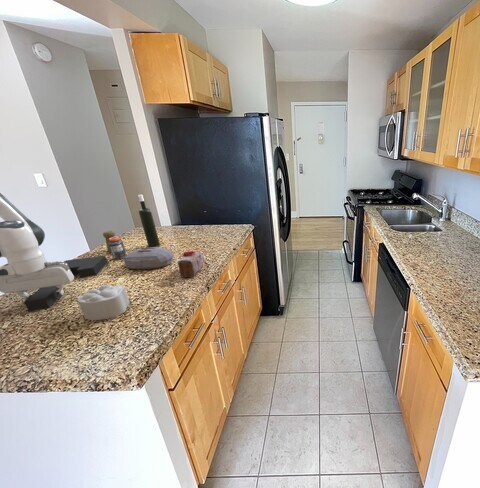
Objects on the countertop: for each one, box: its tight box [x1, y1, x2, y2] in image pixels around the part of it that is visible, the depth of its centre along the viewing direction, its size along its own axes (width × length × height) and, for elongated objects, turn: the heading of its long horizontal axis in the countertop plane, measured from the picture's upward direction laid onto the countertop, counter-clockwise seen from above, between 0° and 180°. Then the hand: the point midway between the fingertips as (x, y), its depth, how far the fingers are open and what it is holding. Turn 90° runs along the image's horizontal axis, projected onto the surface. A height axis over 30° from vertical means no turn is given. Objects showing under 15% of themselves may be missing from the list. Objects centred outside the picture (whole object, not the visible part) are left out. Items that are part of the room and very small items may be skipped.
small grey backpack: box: [123, 246, 174, 270], centre depth 128 cm, size 15×8×20 cm
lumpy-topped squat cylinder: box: [76, 284, 131, 321], centre depth 93 cm, size 10×13×9 cm
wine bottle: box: [137, 194, 161, 248], centre depth 147 cm, size 6×6×30 cm
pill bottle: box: [108, 236, 128, 261], centre depth 135 cm, size 6×6×11 cm
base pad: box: [63, 255, 109, 278], centre depth 122 cm, size 16×14×4 cm
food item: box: [177, 249, 205, 278], centre depth 121 cm, size 14×8×10 cm, turn 8°
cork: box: [102, 230, 116, 253], centre depth 145 cm, size 6×6×11 cm
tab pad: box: [23, 286, 63, 312], centre depth 101 cm, size 6×13×4 cm, turn 20°
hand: (45, 297), depth 99 cm, fingers open, 8 cm apart
